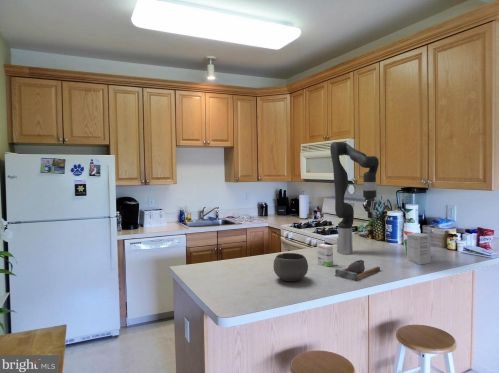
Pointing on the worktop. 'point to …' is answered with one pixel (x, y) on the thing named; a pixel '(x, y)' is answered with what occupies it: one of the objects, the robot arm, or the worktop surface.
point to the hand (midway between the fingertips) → (369, 218)
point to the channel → (354, 276)
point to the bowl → (290, 266)
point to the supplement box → (418, 248)
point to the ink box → (325, 254)
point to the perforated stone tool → (356, 267)
